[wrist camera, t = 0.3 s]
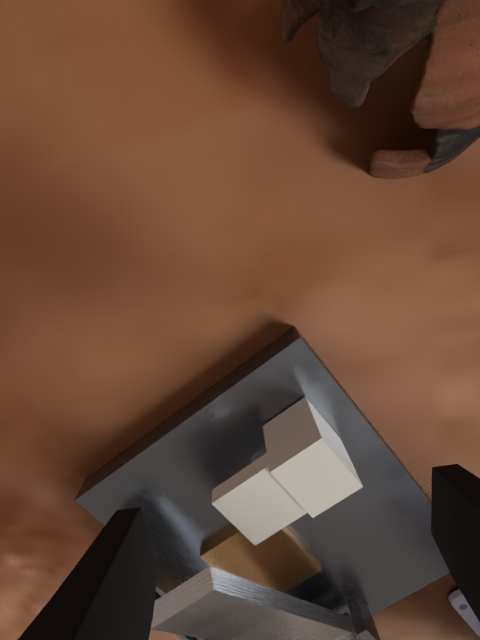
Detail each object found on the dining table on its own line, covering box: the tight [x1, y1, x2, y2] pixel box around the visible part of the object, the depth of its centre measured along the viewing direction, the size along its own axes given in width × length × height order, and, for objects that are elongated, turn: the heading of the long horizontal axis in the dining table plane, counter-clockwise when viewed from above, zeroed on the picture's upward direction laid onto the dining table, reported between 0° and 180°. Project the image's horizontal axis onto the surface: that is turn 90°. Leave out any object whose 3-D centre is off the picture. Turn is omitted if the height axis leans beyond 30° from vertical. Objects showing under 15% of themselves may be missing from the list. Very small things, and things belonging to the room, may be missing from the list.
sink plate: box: [75, 326, 450, 640], centre depth 20 cm, size 17×14×4 cm
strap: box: [151, 566, 361, 640], centre depth 18 cm, size 14×3×1 cm, turn 39°
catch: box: [212, 397, 363, 545], centre depth 17 cm, size 3×6×3 cm, turn 128°
